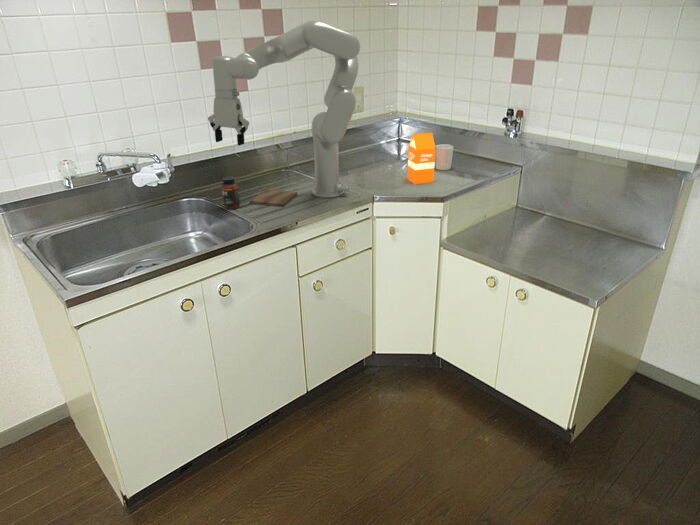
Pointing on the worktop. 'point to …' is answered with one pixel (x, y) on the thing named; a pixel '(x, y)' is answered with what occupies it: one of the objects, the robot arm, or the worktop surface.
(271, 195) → the walnut board
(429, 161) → the orange juice
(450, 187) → the worktop surface
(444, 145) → the white cup
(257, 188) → the worktop surface
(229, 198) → the supplement bottle
